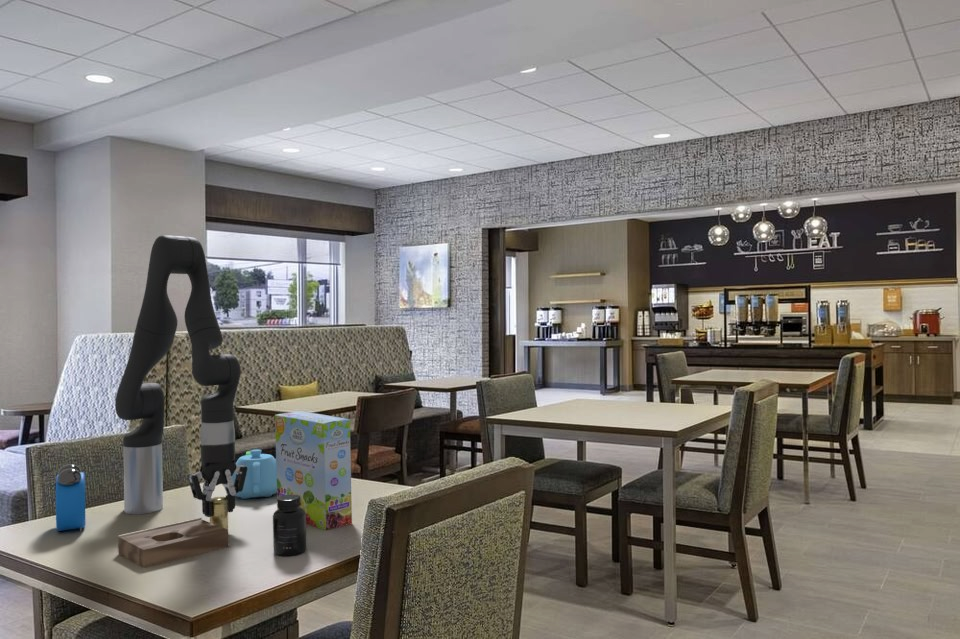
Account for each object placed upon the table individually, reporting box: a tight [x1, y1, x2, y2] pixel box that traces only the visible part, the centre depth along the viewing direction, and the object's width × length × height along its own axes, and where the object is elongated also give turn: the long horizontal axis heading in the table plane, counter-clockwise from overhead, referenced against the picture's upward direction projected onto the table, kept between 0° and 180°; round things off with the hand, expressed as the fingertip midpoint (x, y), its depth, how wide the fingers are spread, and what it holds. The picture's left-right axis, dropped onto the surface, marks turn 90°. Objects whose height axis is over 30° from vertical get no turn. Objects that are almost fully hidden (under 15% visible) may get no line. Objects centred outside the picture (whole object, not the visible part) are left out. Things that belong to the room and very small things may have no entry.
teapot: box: [232, 449, 277, 500], centre depth 208 cm, size 20×20×13 cm
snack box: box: [274, 410, 353, 531], centre depth 181 cm, size 22×9×26 cm, turn 47°
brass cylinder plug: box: [209, 496, 229, 531], centre depth 170 cm, size 4×4×8 cm
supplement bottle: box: [272, 495, 308, 558], centre depth 155 cm, size 7×7×12 cm
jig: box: [117, 517, 229, 569], centre depth 157 cm, size 13×18×4 cm
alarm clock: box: [54, 463, 86, 532], centre depth 175 cm, size 13×6×15 cm, turn 29°
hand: (218, 513), depth 170 cm, fingers open, 4 cm apart
